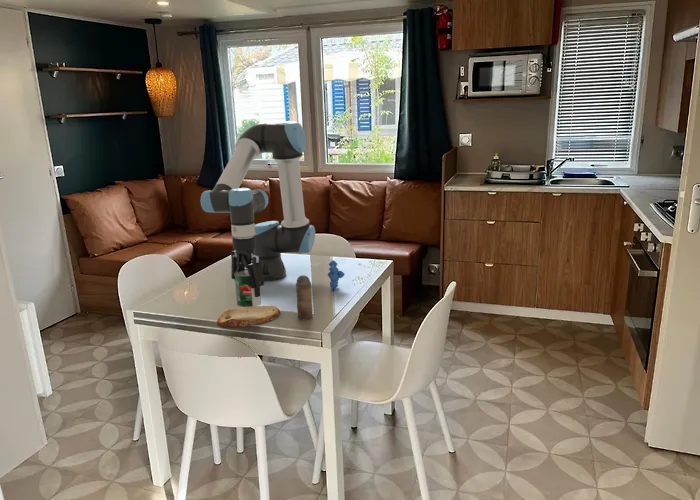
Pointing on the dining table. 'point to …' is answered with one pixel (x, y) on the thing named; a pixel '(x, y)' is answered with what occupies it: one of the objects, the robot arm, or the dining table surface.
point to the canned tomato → (243, 288)
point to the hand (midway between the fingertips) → (249, 302)
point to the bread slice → (247, 316)
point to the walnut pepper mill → (304, 297)
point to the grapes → (334, 274)
